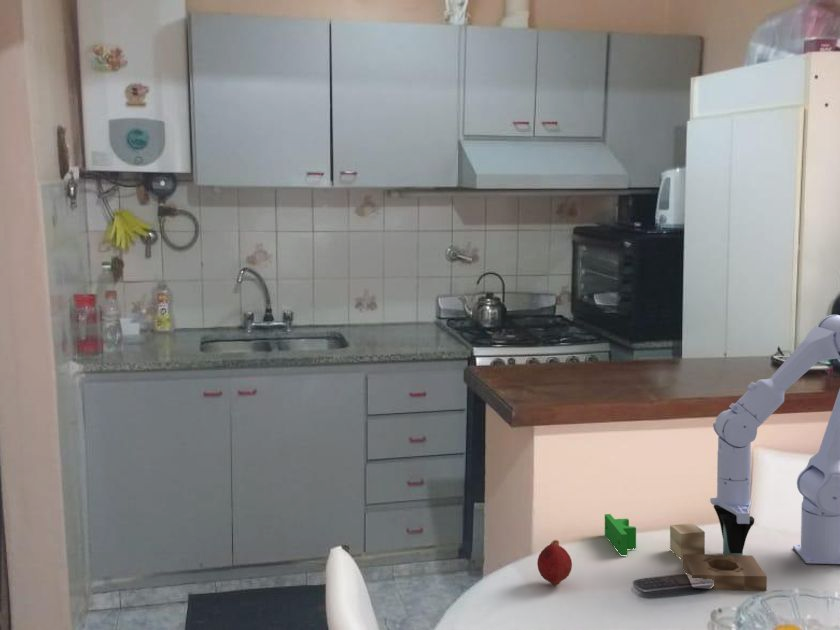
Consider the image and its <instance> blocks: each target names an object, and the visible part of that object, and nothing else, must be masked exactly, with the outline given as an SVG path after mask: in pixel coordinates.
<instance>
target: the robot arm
mask: <svg viewBox="0 0 840 630" xmlns="http://www.w3.org/2000/svg"><path fill="white" fill-rule="evenodd" d="M835 359H836V360H837V361H838V362H839V363H840V315H839V314H831V315H828V316H825V317H823V318H822V319H820V321H819V322H818V324H817V325H816V326H814V327H813V328H811V329H810V330H809V332H808V333H807V335H805V337H804V339H803V340H802V342H801V343H800V344H799V345H798V346H796V348H795V349H794V351H793V352H792V353H791V354H790V355H789V356H788V357H787V358H786V359H785V361H784V362H783V363H782V364H781V365H780V366H779V367H778V368H777V369H776V370H775V372H774V373H773V374H772V375H771V376H770V377H769V378H766V379H762V378H761V379H760V378H759V379H758V380H757V381H756V382H753V381H751V382H750V383H749V384H748V385H747V388H748V390H747V391H746V392H745V393H744V394H743V395H742V396H740V398H739V399H738V400H737V401H736V402H735V403H734V402H731V404H730V405H729V406H728V409H727V410H723V411H721V412H720V413H719V414H718V415H717V416H716V418H715V422H714V423H712V427H713V430H714V432H715V434H716V435H717V436H718V438H717V466H716V467H717V477H716V483H717V485H716V487H717V488H716V497H711V498H710V499H709V502H710V504H711V505H713V508H714V511H715V513H716V515H717V518H718V522H719V525H720V530H721V536H722V537H723V524H724V526H725V530H726V535H727V542H728V548H729V551H730V553H742V551H743V552H744V548H745V544H746V540H747V537H748V534H749V532H750V530H751V529H752V528H751V527H753V525H754V524H755V518H754V517H753V516H752V515H750V510H751V508H752V499H751V487H752V486H751V484H752V483H751V482H752V481H751V479H752V476H751V475H752V473H751V471H752V466H751V465H752V464H751V463H752V452H751V450H752V449H751V447H752V446H751V445H752V442H754V441H755V440H756V438H757V435H758V428H759V427H760V426H762V424H764V422H765V421H767V420H768V418H769V417H771V415H773V413H775V412H776V411H777V409H778V408H780V406H782V404H783V403H785V393H786V391H787V390H788V389H790V387H791V386H792V385H794V384H796V382H797V381H798V380H799V379H800V378H801V377H802V376H803V375H804V374H806V373H808V371H810V369H811V368H813V367H814V366H815V365H816V364H817V363H819V362H821V361H828V360H830V361H831V360H835ZM729 408H730V409H729ZM827 422H828V423H827V426H826V428H825V431H824V434H823V437H822V440H821V444H820V446H819V450H818V452H817V453H816V454H814V455H813V456H812V457H810V458H809V460H808V462H807V465H806V467H804V469H803V470H802V471H800V473H799V475H798V477H797V479H796V486H797V487H796V488H797V490H798V492H799V493H800V494H801V495H802V502H801V513H800V514H801V519H800V521H801V522H800V524H801V525H800V544H793V546H792V548H793V549H794V550H795V551H796V552H797V554H798V555H799V556H800V558H801V559H802V560H803V561H804V562H805V563H806V564H815V565H816V564H817V565H824V564H825V565H840V388H839V390H838V392H837V395H836V398H835V402H834V405H833V408H832V411H831V414H830V417H829V420H828V421H827Z"/></svg>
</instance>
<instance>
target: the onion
mask: <svg viewBox="0 0 840 630" xmlns="http://www.w3.org/2000/svg"><path fill="white" fill-rule="evenodd" d="M536 564H537V565H536V566H537V569H538V572H539V574H540V576H541V577H542V578H543V579H544V580H545V581H547V582H548V583H549V584H552V585H554V586H557V585H559V584H560V583H562V581H564V580H566V579H567V578H568V577H569V576H570V573H572V572H571V571H572V568H573V562H572V559H571V556H570V554H569V553H568V551H567V550H566V549H565V548H564V547H562V546H561V545H560V541H559V540H558V539H553V540H552V541H551V542H550V543H549V545H546V546H545V547H544V548H543V550H541V552H540V553H539V554H538V558H537V563H536Z"/></svg>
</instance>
